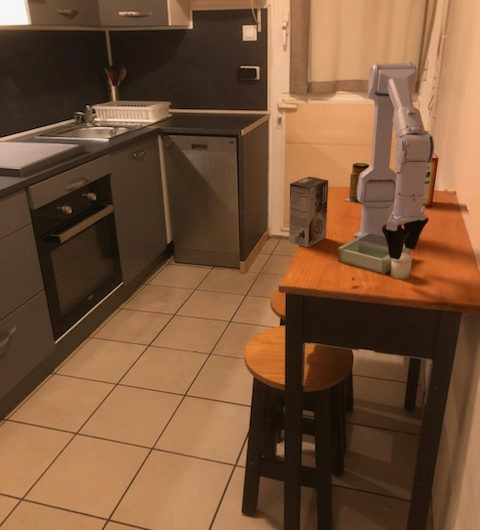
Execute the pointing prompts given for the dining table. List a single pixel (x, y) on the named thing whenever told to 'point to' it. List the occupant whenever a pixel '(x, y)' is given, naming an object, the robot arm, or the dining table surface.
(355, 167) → the condiment
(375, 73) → the robot arm
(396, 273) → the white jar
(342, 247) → the tote
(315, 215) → the coffee box
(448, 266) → the dining table surface
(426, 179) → the baking soda box
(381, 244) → the tea tin
